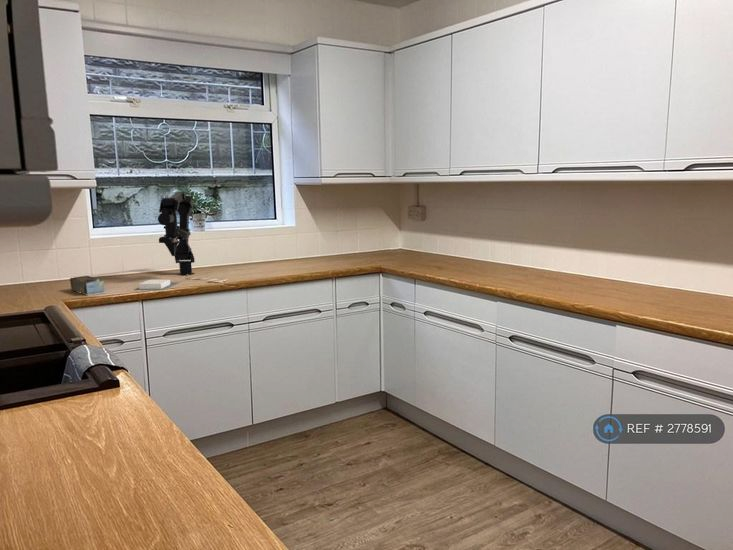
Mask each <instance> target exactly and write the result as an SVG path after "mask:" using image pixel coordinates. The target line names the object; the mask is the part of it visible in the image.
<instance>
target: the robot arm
mask: <svg viewBox="0 0 733 550" xmlns="http://www.w3.org/2000/svg"><path fill="white" fill-rule="evenodd" d="M159 204H160V205H159V210H158V212H159V215H158V217H157V221H158V223H159V224H160V225H162V226H163V229H165V231H164V232H165V234H164V235H163V236H160V237H159V238H158V244H164V245H165V246H166V248H167V249H168V251H169V254H170V255H171V257H174V262H175V264H179V266H178V268H179V272H178V273H177V275H179V274H181V275H180V276H188V275H187V274H190V275H195V272H193V271H192V263H193V264H194V263H195V262H196V261H195V260H196V259H195V256H194V254H193V251H192V248H191V246H190V244H189V239H190V236H191V231H190V216H191V214H192V213H193V209H194V202H193V199H192V198H191V197H190V196H189V195H188V194H186V192H184V191H180V192H179V191H178V192H174V194H172V195H171V196H169V197H162V198H161V200H160V203H159ZM177 215H179V225H178V216H177Z"/></svg>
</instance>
